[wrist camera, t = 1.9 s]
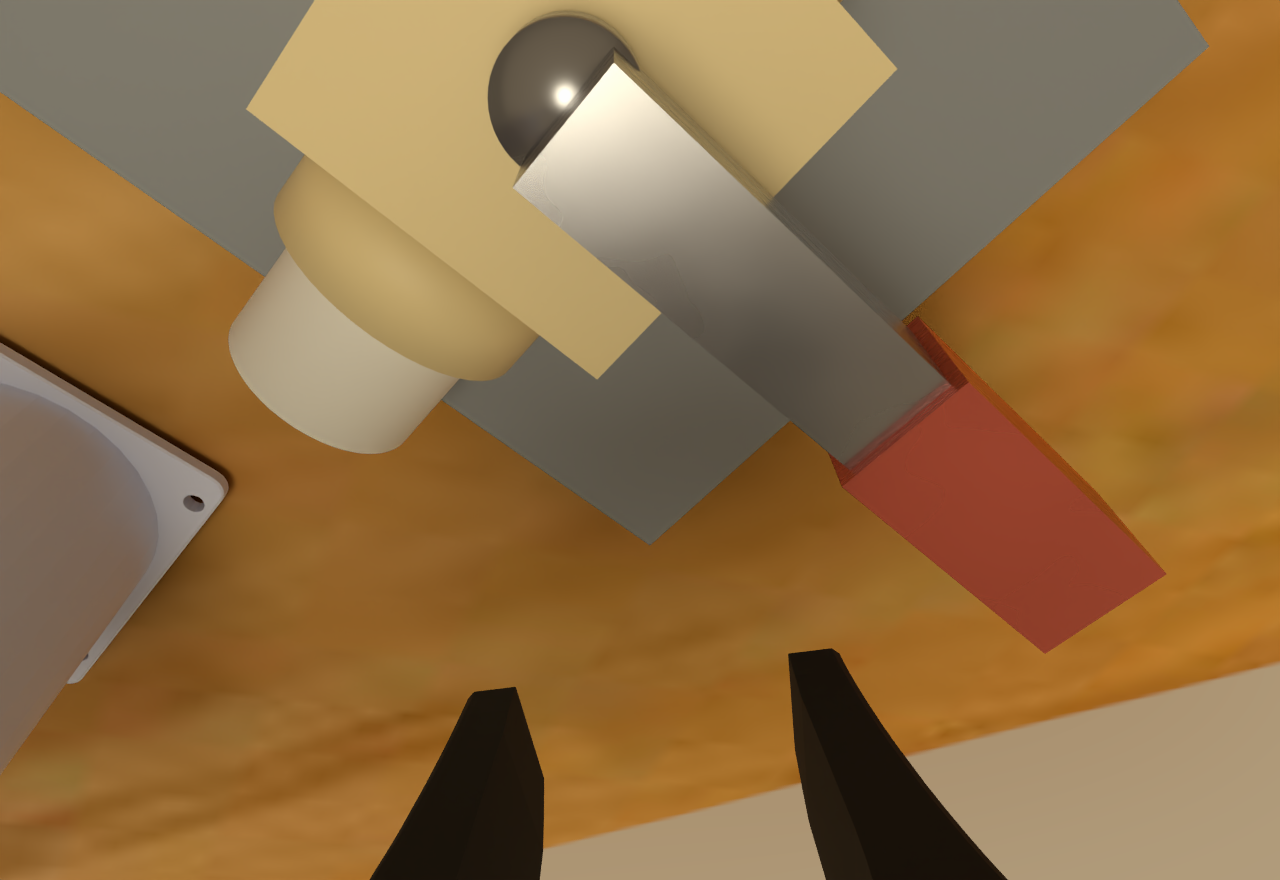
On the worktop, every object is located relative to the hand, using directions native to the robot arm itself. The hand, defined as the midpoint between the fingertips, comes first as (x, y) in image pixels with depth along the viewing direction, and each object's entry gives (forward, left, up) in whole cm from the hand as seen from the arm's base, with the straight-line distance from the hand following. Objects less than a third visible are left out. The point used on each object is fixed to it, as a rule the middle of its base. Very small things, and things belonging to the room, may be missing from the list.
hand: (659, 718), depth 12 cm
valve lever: (+5, +1, -4) cm, 7 cm away
